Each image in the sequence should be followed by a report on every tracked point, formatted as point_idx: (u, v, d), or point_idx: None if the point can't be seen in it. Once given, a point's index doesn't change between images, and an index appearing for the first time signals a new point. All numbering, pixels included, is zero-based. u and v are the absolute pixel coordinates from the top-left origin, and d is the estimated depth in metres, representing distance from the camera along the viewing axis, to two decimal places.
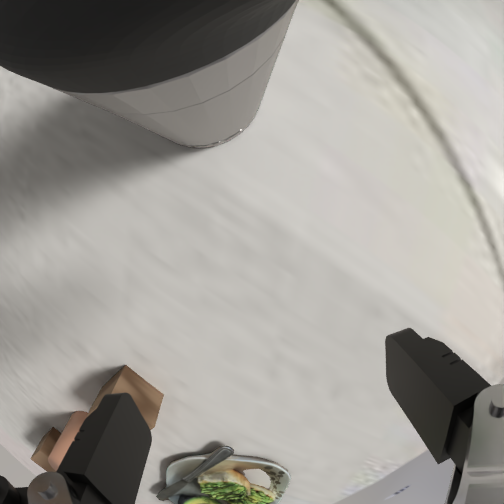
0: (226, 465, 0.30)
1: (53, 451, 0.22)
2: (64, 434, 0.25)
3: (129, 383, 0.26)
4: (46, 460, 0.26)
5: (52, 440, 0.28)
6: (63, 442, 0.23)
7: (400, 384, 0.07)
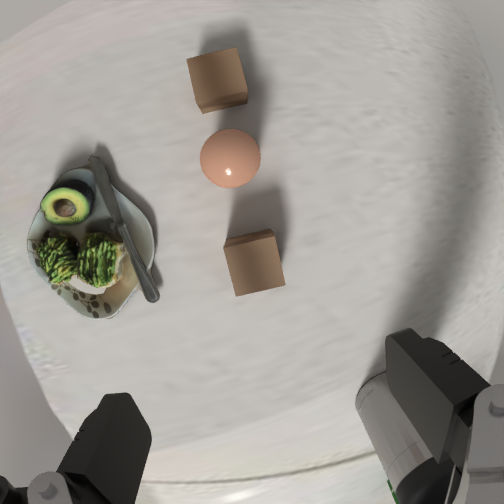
0: (129, 279, 0.34)
1: None
2: None
3: None
4: (228, 80, 0.26)
5: (239, 99, 0.29)
6: None
7: (400, 384, 0.07)
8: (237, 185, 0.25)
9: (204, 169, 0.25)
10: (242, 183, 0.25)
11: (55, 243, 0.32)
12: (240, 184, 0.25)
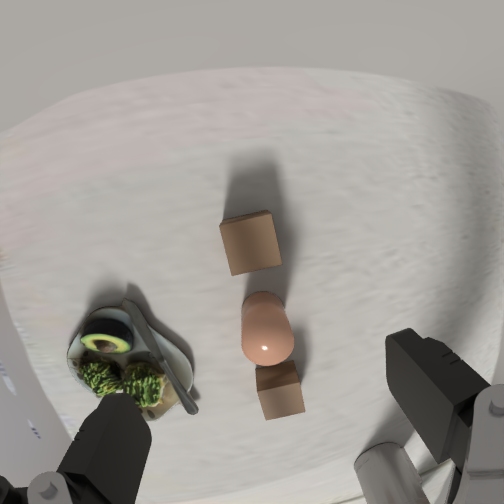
0: (171, 397, 0.37)
1: None
2: None
3: None
4: (263, 253, 0.30)
5: None
6: None
7: (400, 384, 0.07)
8: (273, 363, 0.29)
9: (245, 352, 0.28)
10: (278, 362, 0.29)
11: (98, 367, 0.35)
12: (276, 363, 0.29)
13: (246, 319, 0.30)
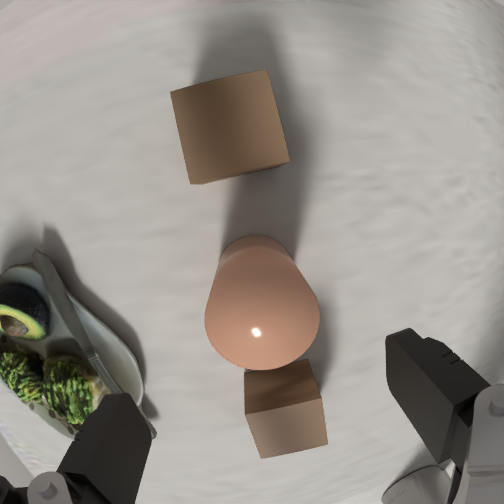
0: None
1: None
2: None
3: None
4: (252, 139, 0.14)
5: (268, 167, 0.17)
6: None
7: (400, 384, 0.07)
8: (275, 366, 0.14)
9: (213, 341, 0.13)
10: (284, 363, 0.14)
11: (13, 360, 0.20)
12: (280, 364, 0.14)
13: (219, 273, 0.15)
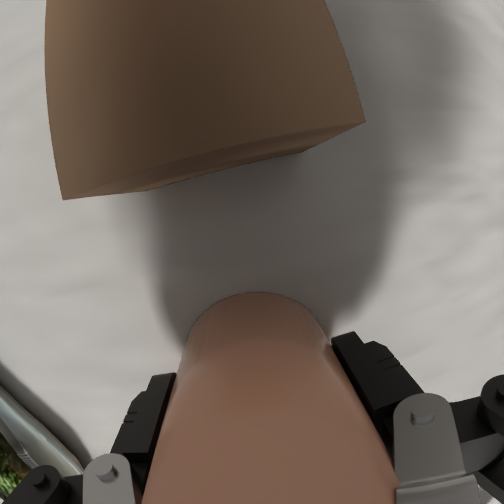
0: None
1: None
2: None
3: None
4: (244, 53, 0.04)
5: (285, 149, 0.07)
6: None
7: None
8: None
9: None
10: None
11: None
12: None
13: (162, 444, 0.05)
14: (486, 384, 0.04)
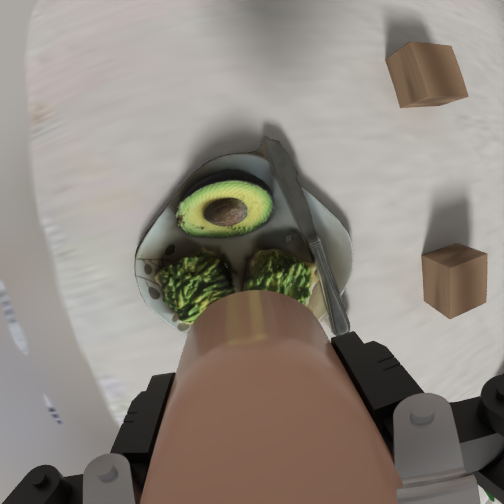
0: (312, 311, 0.26)
1: None
2: None
3: None
4: (452, 80, 0.19)
5: (444, 102, 0.22)
6: None
7: None
8: None
9: None
10: None
11: (197, 265, 0.24)
12: None
13: (161, 442, 0.05)
14: (486, 384, 0.04)
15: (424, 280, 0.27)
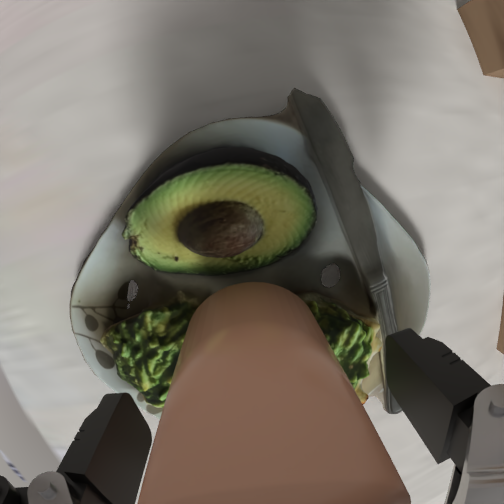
0: None
1: None
2: None
3: None
4: None
5: None
6: None
7: (400, 384, 0.07)
8: None
9: None
10: None
11: (169, 325, 0.13)
12: None
13: (166, 415, 0.05)
14: None
15: (503, 323, 0.16)
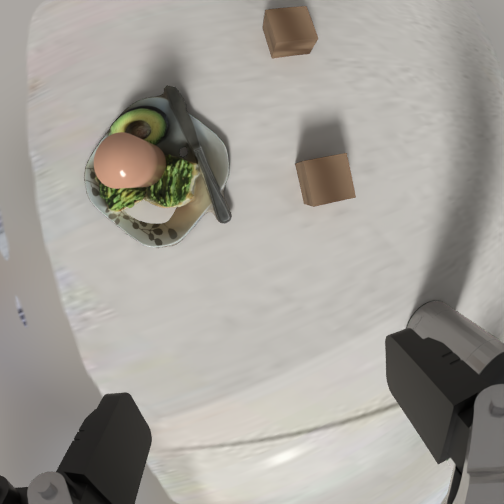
0: (200, 201, 0.36)
1: (147, 159, 0.25)
2: (154, 165, 0.28)
3: None
4: (301, 29, 0.28)
5: (306, 48, 0.31)
6: (149, 171, 0.27)
7: (400, 384, 0.07)
8: (123, 186, 0.25)
9: (96, 171, 0.24)
10: (127, 184, 0.25)
11: None
12: (126, 185, 0.25)
13: None
14: None
15: (300, 184, 0.37)
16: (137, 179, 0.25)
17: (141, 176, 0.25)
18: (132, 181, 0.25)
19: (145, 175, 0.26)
